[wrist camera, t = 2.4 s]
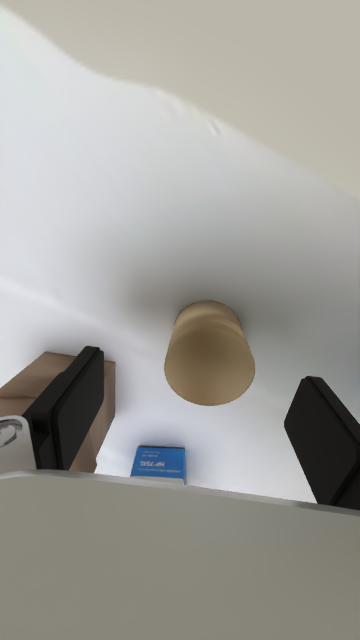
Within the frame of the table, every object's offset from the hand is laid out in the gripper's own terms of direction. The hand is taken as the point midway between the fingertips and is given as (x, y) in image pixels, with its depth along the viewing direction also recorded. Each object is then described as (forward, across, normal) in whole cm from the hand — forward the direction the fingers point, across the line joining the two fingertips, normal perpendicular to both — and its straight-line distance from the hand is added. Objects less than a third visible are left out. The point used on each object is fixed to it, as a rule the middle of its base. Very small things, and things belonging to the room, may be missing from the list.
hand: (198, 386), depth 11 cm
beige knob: (+7, -1, 0) cm, 7 cm away
